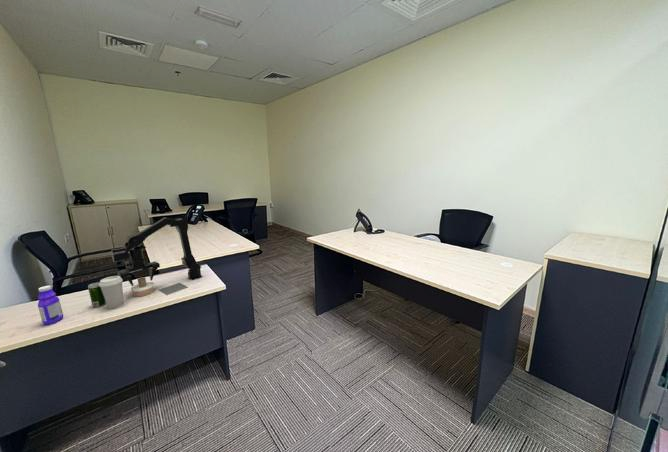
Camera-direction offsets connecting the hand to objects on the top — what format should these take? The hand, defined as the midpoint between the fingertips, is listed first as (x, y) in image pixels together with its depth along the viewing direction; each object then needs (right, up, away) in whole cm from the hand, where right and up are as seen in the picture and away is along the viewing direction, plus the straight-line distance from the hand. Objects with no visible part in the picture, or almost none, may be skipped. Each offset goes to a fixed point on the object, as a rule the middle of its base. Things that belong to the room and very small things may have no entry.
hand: (142, 283), depth 150 cm
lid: (0, -3, +1) cm, 3 cm away
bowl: (0, -6, +1) cm, 6 cm away
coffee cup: (-5, -9, -12) cm, 16 cm away
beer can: (-14, -9, -11) cm, 20 cm away
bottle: (-23, -13, -25) cm, 37 cm away
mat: (+14, -5, +5) cm, 16 cm away
